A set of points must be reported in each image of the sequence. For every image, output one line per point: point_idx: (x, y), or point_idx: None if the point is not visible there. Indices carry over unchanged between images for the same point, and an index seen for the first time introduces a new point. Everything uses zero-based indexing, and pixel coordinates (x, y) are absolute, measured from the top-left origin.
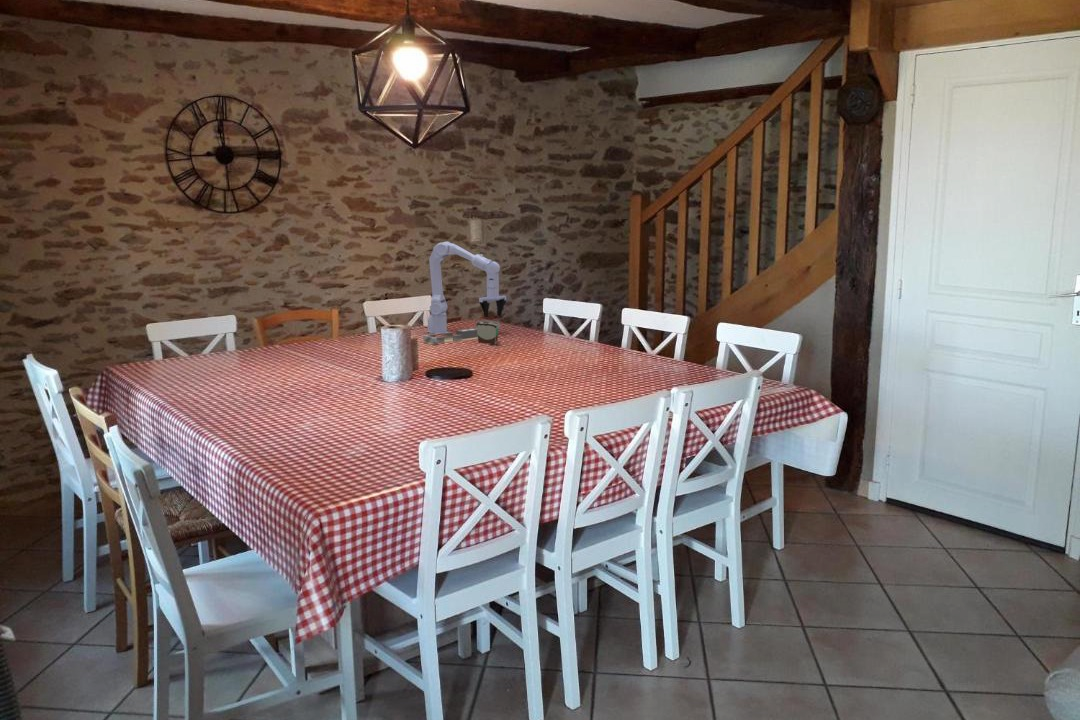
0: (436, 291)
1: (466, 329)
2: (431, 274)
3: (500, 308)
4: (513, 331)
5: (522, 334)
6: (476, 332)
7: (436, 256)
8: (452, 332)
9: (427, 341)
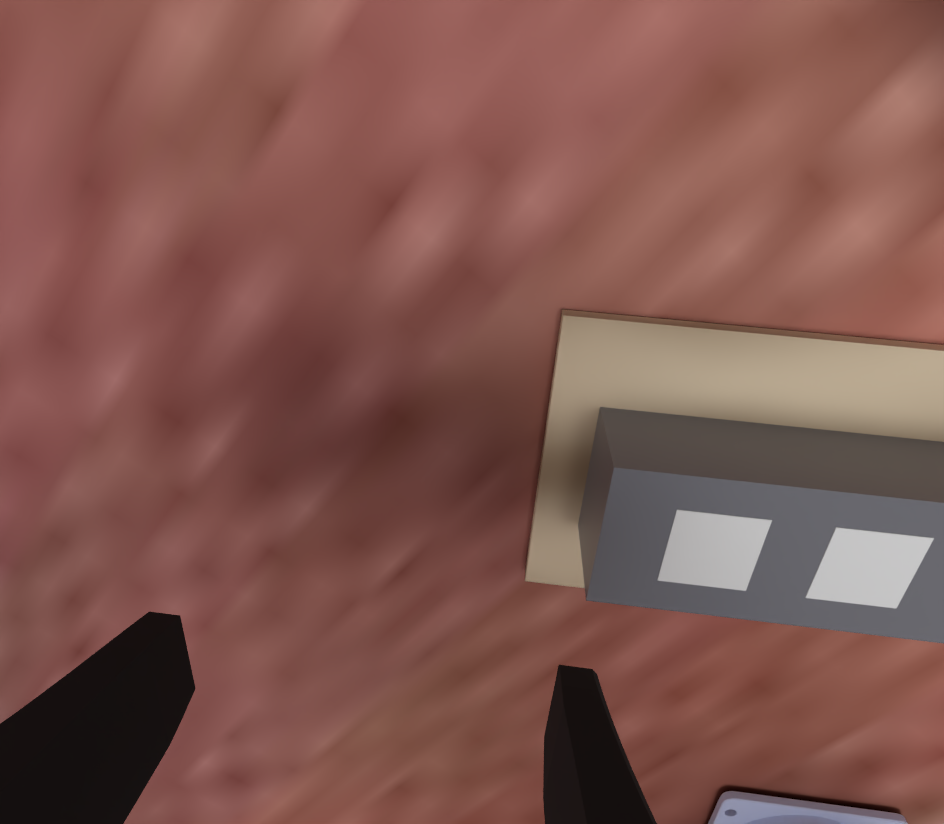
0: None
1: (919, 619)
2: None
3: (21, 806)
4: (42, 473)
5: (6, 224)
6: (829, 467)
7: None
8: None
9: None
